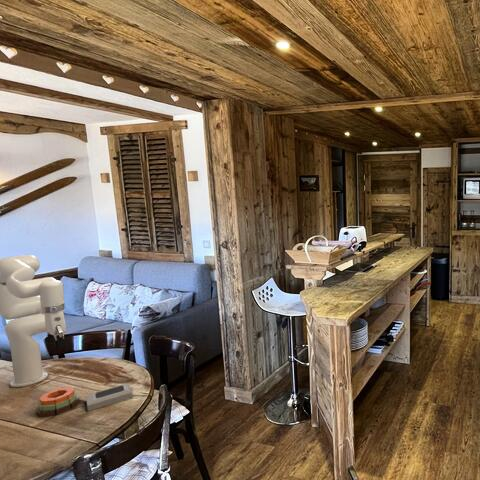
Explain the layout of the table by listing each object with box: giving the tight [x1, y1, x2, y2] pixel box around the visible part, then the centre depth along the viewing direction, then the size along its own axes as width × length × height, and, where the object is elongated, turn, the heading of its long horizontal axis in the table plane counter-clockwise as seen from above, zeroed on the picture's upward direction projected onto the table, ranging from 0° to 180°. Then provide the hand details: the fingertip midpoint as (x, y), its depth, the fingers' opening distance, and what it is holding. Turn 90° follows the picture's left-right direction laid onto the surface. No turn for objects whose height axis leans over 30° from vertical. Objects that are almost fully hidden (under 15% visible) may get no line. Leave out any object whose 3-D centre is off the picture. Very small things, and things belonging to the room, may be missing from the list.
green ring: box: [37, 392, 78, 411], centre depth 150 cm, size 11×11×2 cm
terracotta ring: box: [38, 386, 76, 406], centre depth 150 cm, size 10×10×2 cm
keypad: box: [85, 383, 133, 412], centre depth 156 cm, size 10×4×15 cm
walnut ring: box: [36, 396, 80, 418], centre depth 150 cm, size 12×12×2 cm
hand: (56, 344), depth 159 cm, fingers open, 9 cm apart
